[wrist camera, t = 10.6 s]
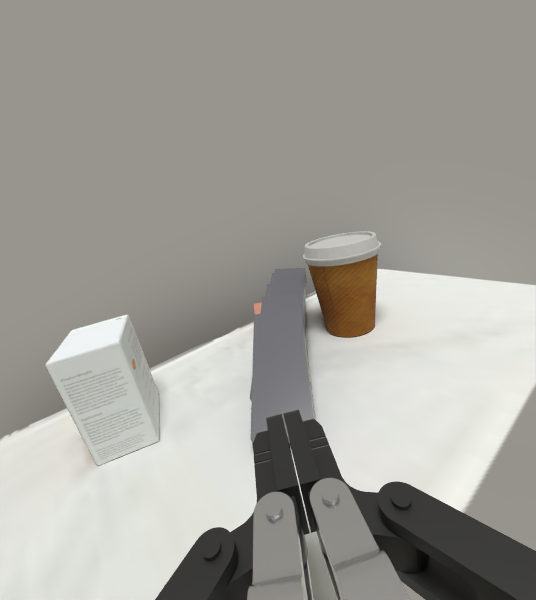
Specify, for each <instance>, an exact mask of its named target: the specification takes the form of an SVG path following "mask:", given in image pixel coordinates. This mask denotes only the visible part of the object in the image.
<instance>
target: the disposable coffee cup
mask: <svg viewBox="0 0 536 600" xmlns="http://www.w3.org/2000/svg"><path fill="white" fill-rule="evenodd" d="M380 247H381V243H380V242H378V240H377V237H376V234H375V233H374V232H351V233H344V234H337V235H332V236H328V237H324V238H320V239H317V240H314V241H311V242H309V243H308V244H306V245H305V254H304V255H303V259H304V260H305V261H306V263H307V264H308V266H309V270H310V273H311V276H312V280H313V283H314V286H315V290H316V293H317V297H318V300H319V303H320V307H321V310H322V313H323V316H324V320H325V323H326V327H327V330H328V332H329V333H331V334H332V335H335V336H340V337H355V336H360V335H363V334H366V333H368V332H370V331H371V330H372V329H373V328H374V327H375V303H376V280H377V256H378V253H379V248H380Z"/></svg>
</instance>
